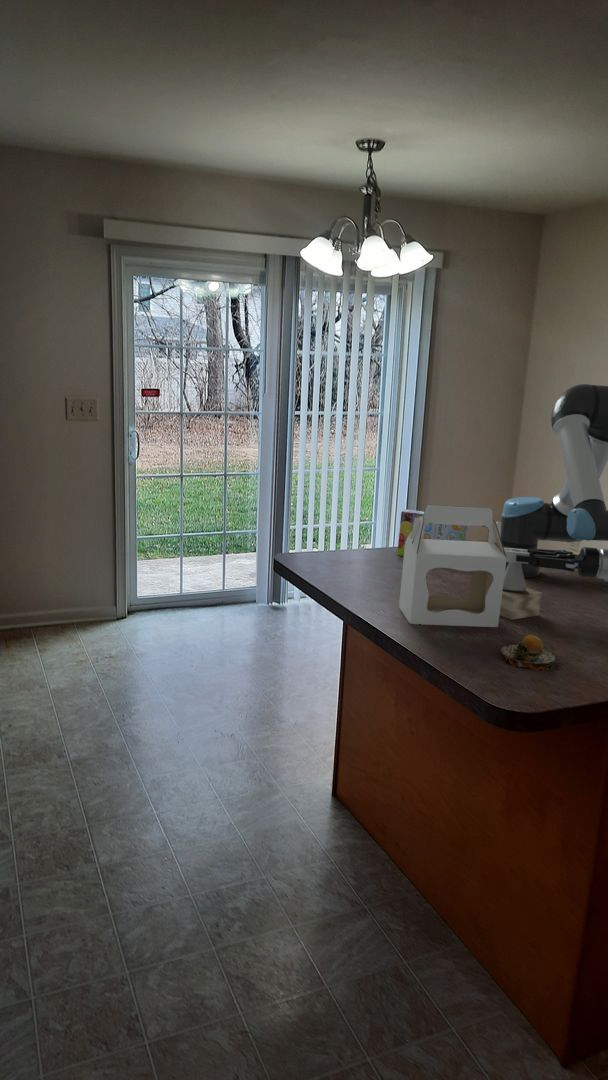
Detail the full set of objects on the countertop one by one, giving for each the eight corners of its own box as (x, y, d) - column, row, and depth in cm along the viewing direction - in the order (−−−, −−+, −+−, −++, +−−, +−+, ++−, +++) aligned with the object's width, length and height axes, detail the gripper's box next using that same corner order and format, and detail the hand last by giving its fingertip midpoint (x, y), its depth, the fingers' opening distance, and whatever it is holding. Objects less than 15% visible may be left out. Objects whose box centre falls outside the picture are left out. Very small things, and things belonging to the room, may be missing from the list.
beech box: (509, 603, 207) (512, 582, 206) (539, 615, 199) (542, 593, 198) (481, 607, 202) (484, 585, 201) (511, 619, 193) (513, 596, 192)
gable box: (482, 611, 200) (495, 504, 194) (499, 627, 187) (513, 513, 181) (397, 607, 198) (408, 499, 192) (408, 624, 185) (420, 509, 179)
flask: (527, 593, 195) (532, 555, 193) (498, 590, 196) (502, 551, 194) (525, 586, 202) (530, 548, 200) (497, 583, 203) (501, 545, 201)
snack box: (463, 562, 252) (468, 516, 249) (459, 565, 247) (464, 519, 244) (401, 552, 260) (405, 508, 257) (396, 555, 255) (400, 510, 252)
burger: (545, 652, 172) (549, 620, 171) (564, 673, 161) (569, 638, 159) (491, 650, 172) (495, 617, 170) (507, 670, 160) (511, 636, 159)
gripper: (602, 585, 187) (503, 576, 191) (588, 570, 203) (496, 561, 206) (606, 555, 186) (506, 546, 189) (592, 542, 202) (500, 533, 205)
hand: (501, 554), depth 198 cm, fingers closed on flask, 3 cm apart
